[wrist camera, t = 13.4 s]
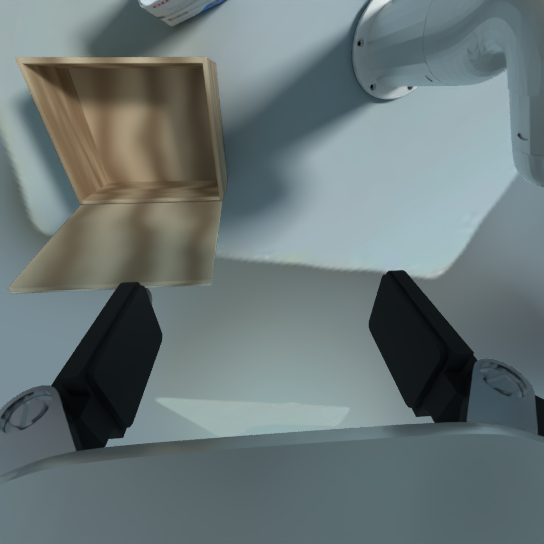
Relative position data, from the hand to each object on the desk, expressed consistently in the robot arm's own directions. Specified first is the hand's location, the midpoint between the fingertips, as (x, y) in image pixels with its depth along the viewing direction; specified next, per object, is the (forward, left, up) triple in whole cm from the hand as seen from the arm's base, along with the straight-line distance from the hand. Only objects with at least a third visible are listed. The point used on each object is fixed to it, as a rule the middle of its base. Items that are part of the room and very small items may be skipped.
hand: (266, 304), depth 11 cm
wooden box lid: (+15, +7, -21) cm, 27 cm away
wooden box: (+15, -2, -38) cm, 41 cm away
